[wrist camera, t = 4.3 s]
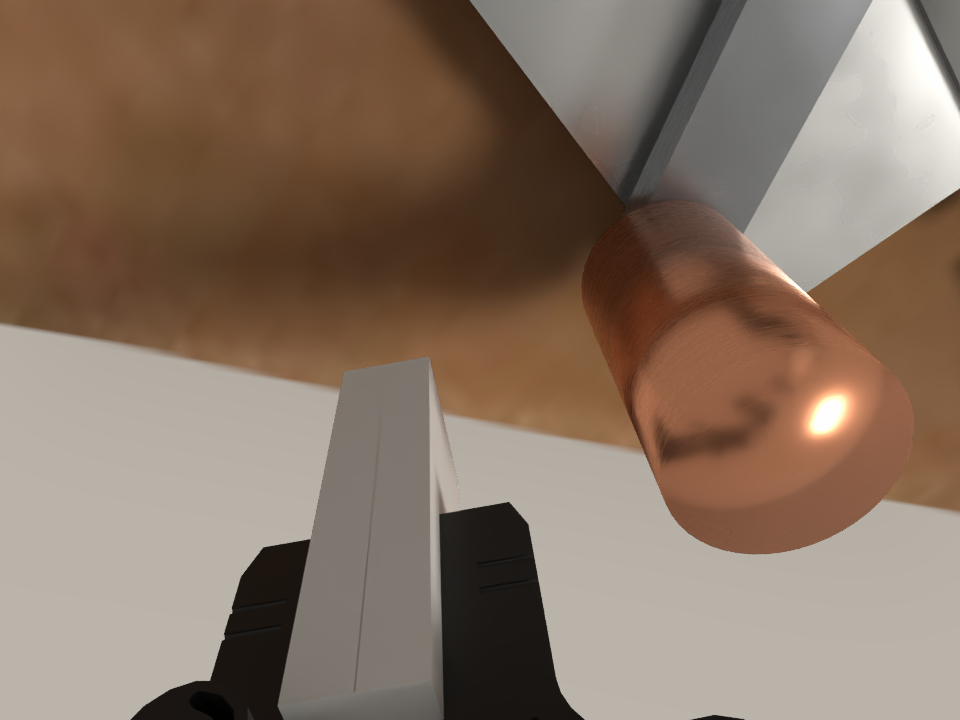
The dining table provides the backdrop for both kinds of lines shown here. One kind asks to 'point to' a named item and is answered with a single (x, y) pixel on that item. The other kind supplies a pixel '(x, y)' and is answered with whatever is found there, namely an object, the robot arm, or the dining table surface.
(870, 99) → the crank plate
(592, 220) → the dining table surface
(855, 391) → the crank
